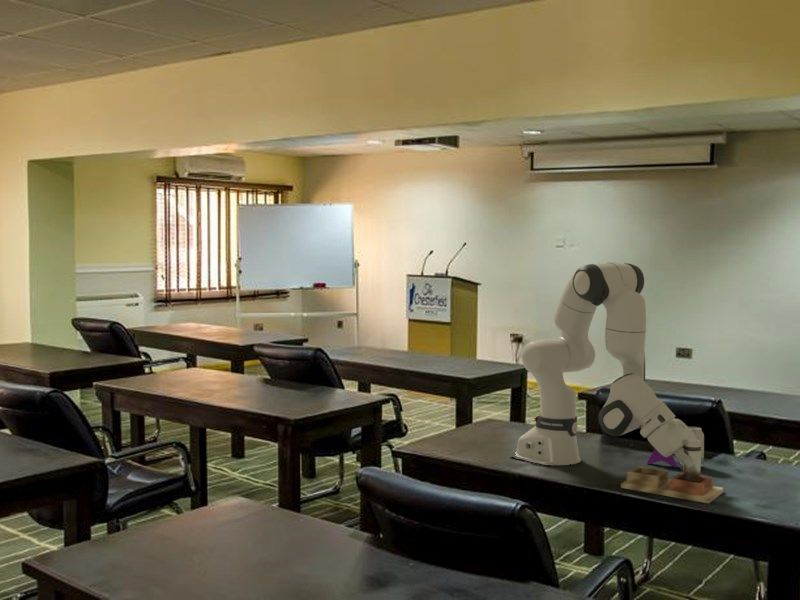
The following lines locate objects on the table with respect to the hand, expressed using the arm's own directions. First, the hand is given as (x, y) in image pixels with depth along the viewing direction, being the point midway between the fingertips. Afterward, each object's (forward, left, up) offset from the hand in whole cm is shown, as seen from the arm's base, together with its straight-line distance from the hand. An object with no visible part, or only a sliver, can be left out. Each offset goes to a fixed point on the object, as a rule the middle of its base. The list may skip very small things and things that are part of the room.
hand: (694, 461), depth 215 cm
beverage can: (-9, +29, -9) cm, 32 cm away
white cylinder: (-1, 0, -6) cm, 6 cm away
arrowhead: (-18, +25, -9) cm, 32 cm away
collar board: (-6, 0, -9) cm, 11 cm away
